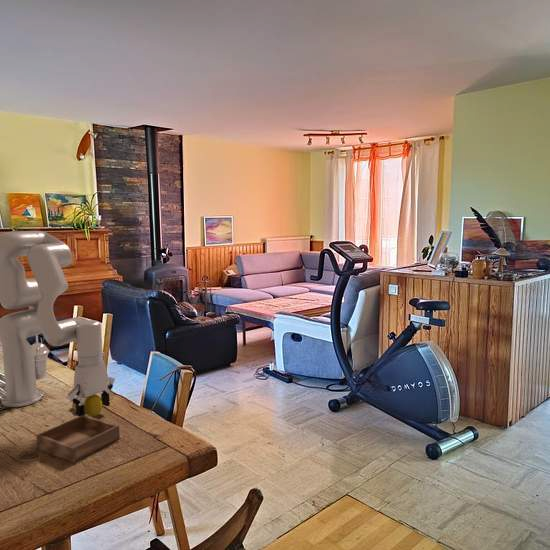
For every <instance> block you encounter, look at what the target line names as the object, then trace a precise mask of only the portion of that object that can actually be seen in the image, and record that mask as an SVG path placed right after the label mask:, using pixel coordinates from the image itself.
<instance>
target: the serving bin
mask: <svg viewBox="0 0 550 550" xmlns="http://www.w3.org/2000/svg"><path fill="white" fill-rule="evenodd" d="M120 435H121V434H120V425H118V424H114V423H111V422H107V421H104V420H101V419H98V418H93V417H92V416H88V415H87V414H85V415H82V416H77V417H75V418H73V419H70V420H69V421H66V422H64V423H62V424H60V425H57V426H54V427H52V428H50V429H48V430H46V431H44V432H41V433H38V434H36V446H37V447H36V448H37V449H38V450H40V451H42V452H45V453H48V454H50V455H53V456H54V457H55V456H56V457H58V458H61V459H62V460H65V461H68V462H71V463H74V464H75V463H77V462H78V461H80V460H82V459H85V458H86V457H88V456H90V455H91V454H93V453H96V452H98V451H100V450H101V449H103V448H105V447H107V446H108V445H111V444H112V443H114V442H117V441H119V440H120Z"/></svg>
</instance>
